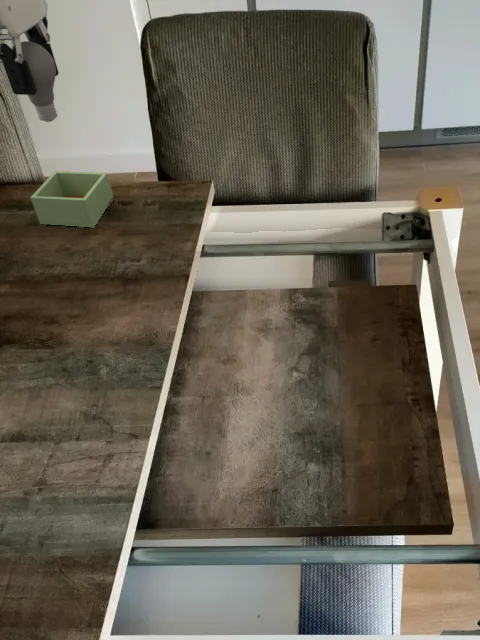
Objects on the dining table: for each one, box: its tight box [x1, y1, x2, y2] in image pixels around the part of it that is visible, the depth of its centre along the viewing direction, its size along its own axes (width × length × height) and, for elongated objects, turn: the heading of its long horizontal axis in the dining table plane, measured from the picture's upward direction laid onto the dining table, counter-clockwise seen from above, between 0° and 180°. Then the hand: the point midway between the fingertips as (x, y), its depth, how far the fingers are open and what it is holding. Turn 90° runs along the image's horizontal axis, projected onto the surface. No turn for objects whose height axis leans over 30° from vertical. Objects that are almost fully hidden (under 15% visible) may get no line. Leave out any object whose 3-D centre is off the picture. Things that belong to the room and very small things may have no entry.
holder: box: [30, 170, 114, 229], centre depth 102 cm, size 9×9×5 cm
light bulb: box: [11, 40, 58, 123], centre depth 90 cm, size 6×6×10 cm
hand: (36, 83), depth 90 cm, fingers closed on light bulb, 6 cm apart
